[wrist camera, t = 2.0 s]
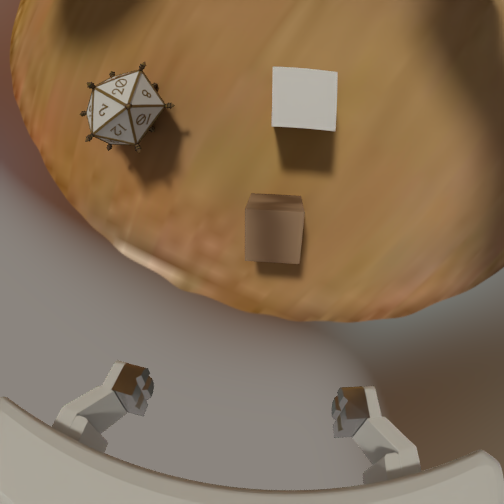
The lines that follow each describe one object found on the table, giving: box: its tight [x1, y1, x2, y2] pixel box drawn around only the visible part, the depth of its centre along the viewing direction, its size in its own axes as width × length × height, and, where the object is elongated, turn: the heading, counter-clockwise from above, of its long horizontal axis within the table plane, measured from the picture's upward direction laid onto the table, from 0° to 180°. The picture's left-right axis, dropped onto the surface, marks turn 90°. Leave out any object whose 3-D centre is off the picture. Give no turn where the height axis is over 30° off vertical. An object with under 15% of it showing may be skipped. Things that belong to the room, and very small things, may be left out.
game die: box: [80, 62, 175, 153], centre depth 20 cm, size 9×8×10 cm
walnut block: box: [245, 193, 305, 264], centre depth 26 cm, size 5×5×5 cm
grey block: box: [272, 67, 337, 131], centre depth 20 cm, size 5×5×5 cm
